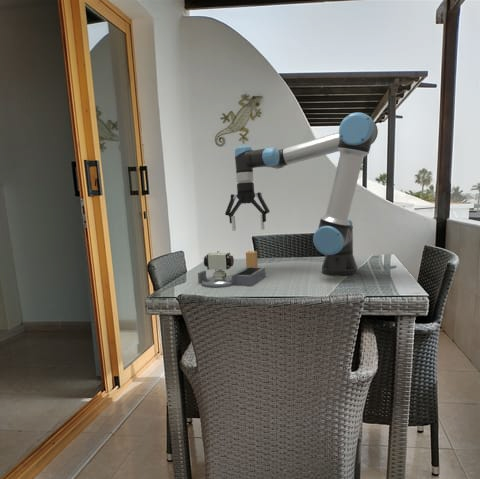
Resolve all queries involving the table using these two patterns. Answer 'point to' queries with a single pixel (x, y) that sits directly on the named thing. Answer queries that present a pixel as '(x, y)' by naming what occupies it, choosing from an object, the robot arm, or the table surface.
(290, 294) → the table surface
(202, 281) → the grey disc
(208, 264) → the pneumatic valve
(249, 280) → the grey rectangular frame
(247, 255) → the tan rectangular block
